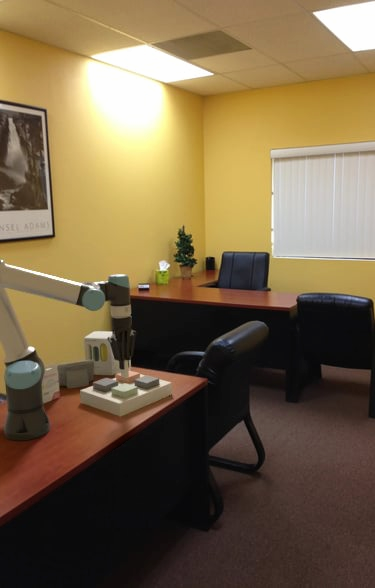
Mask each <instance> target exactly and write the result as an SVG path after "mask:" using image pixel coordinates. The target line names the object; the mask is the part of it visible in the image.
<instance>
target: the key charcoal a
mask: <svg viewBox="0 0 375 588" xmlns="http://www.w3.org/2000/svg"><path fill="white" fill-rule="evenodd" d="M113 379H114V378H109V377H104V378H101V379H99V380H97V381H92V386H93V389H95V390H98V391H101V392H108V391H110V390H112V389H111V388H113V387H116V386H118V381H116V380H113Z"/></svg>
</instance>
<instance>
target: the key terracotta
mask: <svg viewBox="0 0 375 588" xmlns="http://www.w3.org/2000/svg"><path fill="white" fill-rule="evenodd" d="M128 371H129V377H127V378H125V377H121V373H119V374H116V381H119V382H122V383H126V384H129V383H132V382H134V380H135V379H138V378H140V374H141V373H140V372H137V371H132V370H131V371H130V370H128Z"/></svg>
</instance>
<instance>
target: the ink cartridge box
mask: <svg viewBox="0 0 375 588" xmlns="http://www.w3.org/2000/svg"><path fill="white" fill-rule="evenodd" d="M57 366H58V365H57V362H54V363H51V364H47V365H44V368H45V369H44V370H45V372H44V376H43V381H42V398H43V405H44V404H47V403H49V402H51V401H54V400H56V399H59V398H60V397H61V394H60V386H59V380H58V370H57Z"/></svg>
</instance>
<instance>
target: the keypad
mask: <svg viewBox="0 0 375 588" xmlns="http://www.w3.org/2000/svg"><path fill="white" fill-rule="evenodd" d="M143 376H146V375H144V374H141V373H140V377H143ZM112 379H113V380H116V378H115V377H114V378H112ZM121 384H124V383H122V382H119V381H118V386H119V385H121ZM129 384H130V385H133V386H135V383H134V382H132V383H129ZM171 394H172V395H173V384H172V382H171V381H168V380H164V379H160V378H159V385H158V386H155V387H153V388H150V389H148V390H146V389H143V388H139V387H138V394H135V395H133V396H130V397H128V398H125V399H123V398H120V397H117V396H114V395H112V390H110V391H108V392H101V391H98V390H95V389H93V385H92V386H89V387H86V388H85V387H84V388H83V389H80V390H79V395H80V397H79V398H80V403H82V404H84V405H87V406H90V407H92V408H95V409H98V410H101V411H104V412H106V413H110V414H112V415H115V416H118V417H120V418H121V417H123V416H126V415H128V414H130V413H133V412H135V411H137V410H139V409H141V408H144V407H146V406H149V405H150V404H154V403H155V402H157V401H160V400H163V399H165V398H167V397H169V395H170V396H172V395H171ZM162 398H163V399H162Z"/></svg>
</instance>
